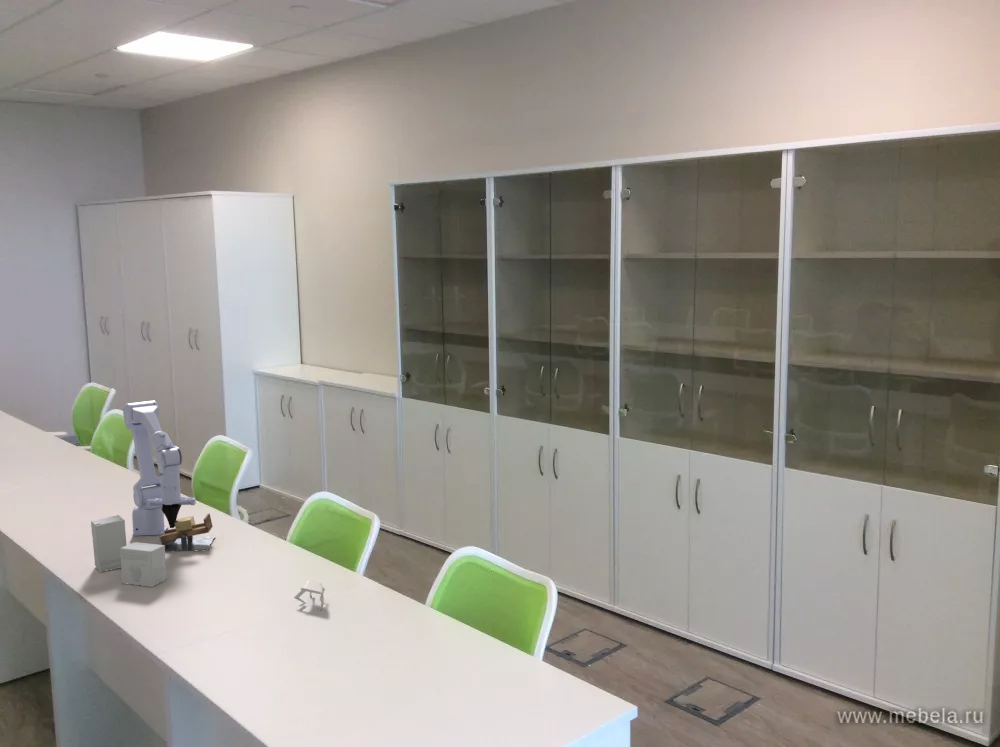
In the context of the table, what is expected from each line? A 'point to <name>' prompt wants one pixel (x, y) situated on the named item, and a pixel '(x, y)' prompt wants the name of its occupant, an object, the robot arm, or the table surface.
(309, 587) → the origami figure
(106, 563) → the skincare box
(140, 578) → the skincare box
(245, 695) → the table surface
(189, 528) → the block
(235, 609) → the table surface
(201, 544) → the pivot stand
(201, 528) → the balance beam
